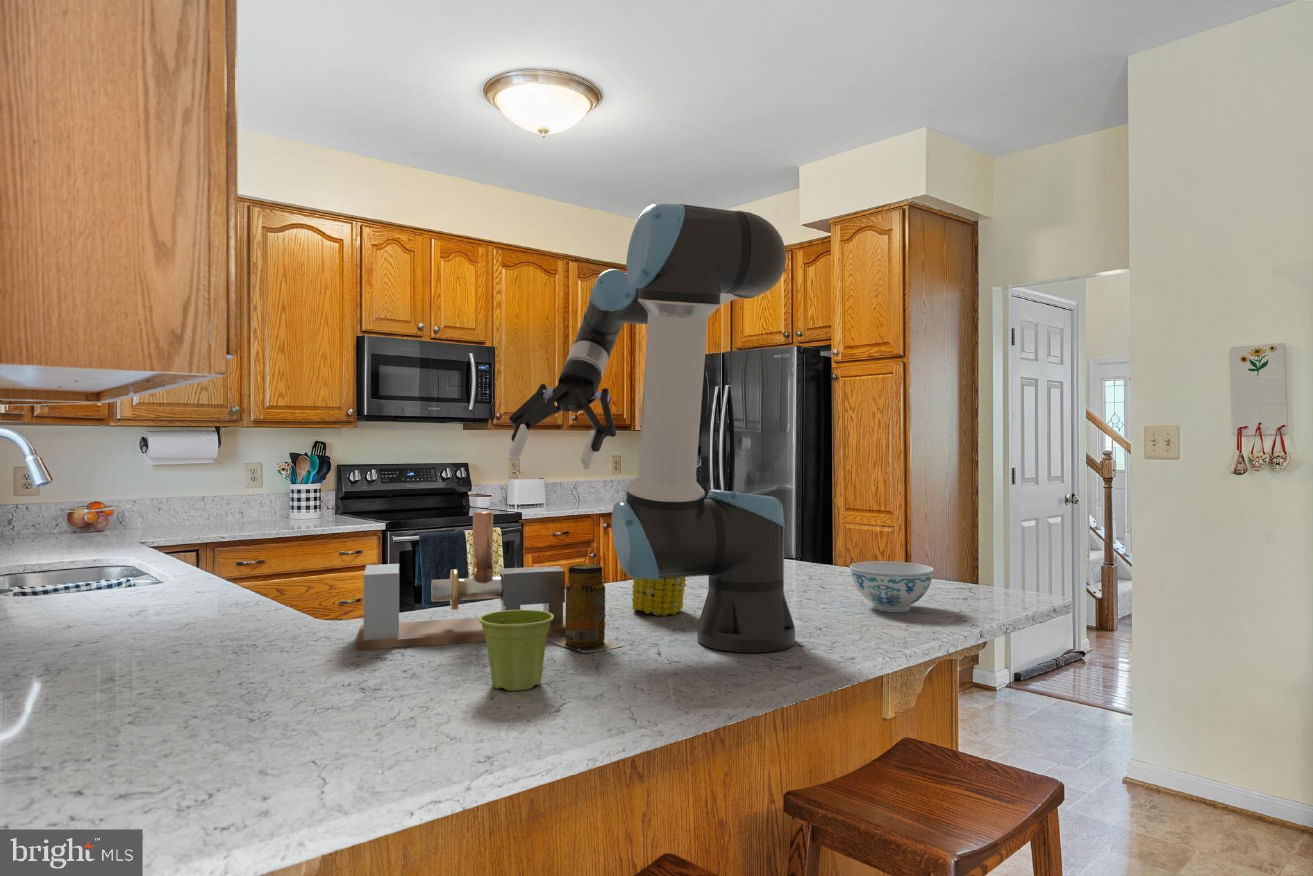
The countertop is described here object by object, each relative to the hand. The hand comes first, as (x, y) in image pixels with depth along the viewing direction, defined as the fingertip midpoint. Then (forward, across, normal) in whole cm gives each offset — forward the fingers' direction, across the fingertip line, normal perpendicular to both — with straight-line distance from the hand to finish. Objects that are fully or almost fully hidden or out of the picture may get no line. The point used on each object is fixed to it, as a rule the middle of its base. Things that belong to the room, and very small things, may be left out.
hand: (548, 461), depth 141 cm
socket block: (+35, +17, -1) cm, 38 cm away
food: (+13, -19, -26) cm, 35 cm away
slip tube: (+25, +2, -6) cm, 26 cm away
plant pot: (+43, -14, +12) cm, 47 cm away
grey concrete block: (+25, -3, -10) cm, 27 cm away
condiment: (+30, -15, -5) cm, 34 cm away
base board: (+31, +6, -7) cm, 32 cm away
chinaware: (+2, -59, -36) cm, 69 cm away
